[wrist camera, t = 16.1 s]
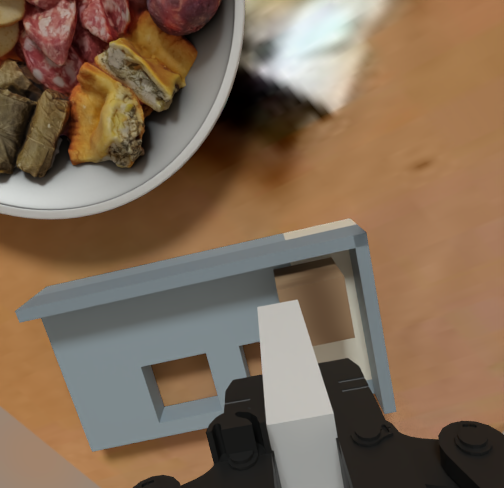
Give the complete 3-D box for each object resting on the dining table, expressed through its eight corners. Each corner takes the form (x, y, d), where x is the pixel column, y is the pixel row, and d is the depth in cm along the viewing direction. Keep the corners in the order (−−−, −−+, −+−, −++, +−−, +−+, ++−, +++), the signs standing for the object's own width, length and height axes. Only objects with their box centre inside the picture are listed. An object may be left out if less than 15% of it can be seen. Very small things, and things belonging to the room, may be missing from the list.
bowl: (22, 268, 40) (-31, 302, 32) (-227, -58, 33) (-369, -113, 25) (312, 91, 36) (330, 81, 29) (99, -315, 29) (47, -470, 22)
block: (284, 322, 38) (290, 351, 33) (273, 269, 37) (277, 290, 32) (341, 311, 38) (355, 337, 33) (331, 257, 37) (344, 276, 32)
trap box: (100, 433, 44) (80, 475, 38) (46, 286, 40) (15, 311, 34) (377, 376, 42) (396, 411, 37) (349, 218, 38) (366, 232, 33)
